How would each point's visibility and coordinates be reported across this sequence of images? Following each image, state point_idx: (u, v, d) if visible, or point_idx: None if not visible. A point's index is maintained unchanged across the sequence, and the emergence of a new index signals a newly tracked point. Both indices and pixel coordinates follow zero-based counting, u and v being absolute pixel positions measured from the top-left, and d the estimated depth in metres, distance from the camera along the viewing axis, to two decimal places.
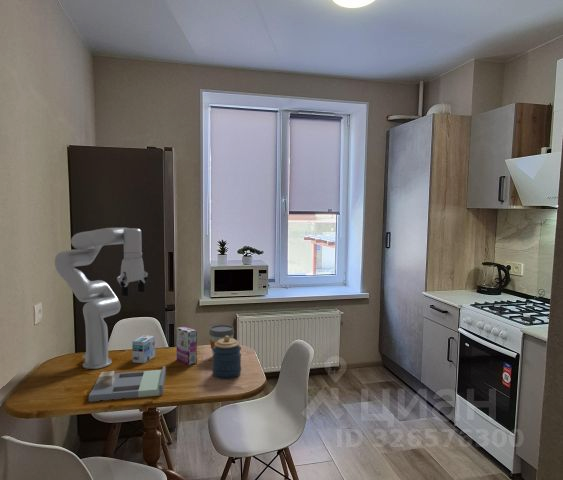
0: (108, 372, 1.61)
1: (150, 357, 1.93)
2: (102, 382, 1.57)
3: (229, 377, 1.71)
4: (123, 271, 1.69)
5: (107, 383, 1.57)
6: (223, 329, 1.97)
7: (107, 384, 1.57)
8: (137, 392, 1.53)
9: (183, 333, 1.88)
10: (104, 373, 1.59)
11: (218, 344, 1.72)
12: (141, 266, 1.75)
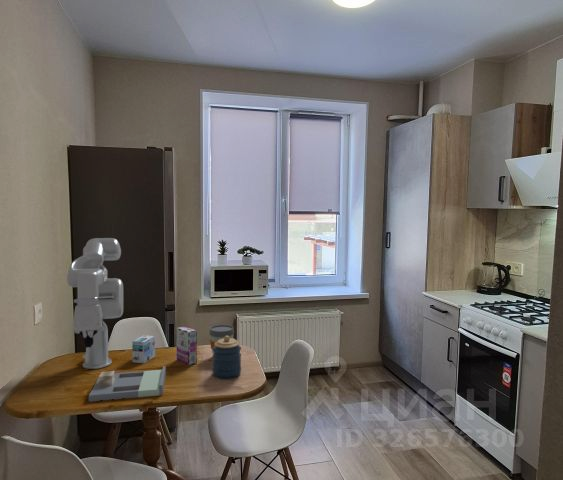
0: (108, 372, 1.61)
1: (150, 357, 1.93)
2: (102, 382, 1.57)
3: (229, 377, 1.71)
4: (101, 317, 1.57)
5: (107, 383, 1.57)
6: (223, 329, 1.97)
7: (107, 384, 1.57)
8: (137, 392, 1.53)
9: (183, 333, 1.88)
10: (104, 373, 1.59)
11: (218, 344, 1.72)
12: None
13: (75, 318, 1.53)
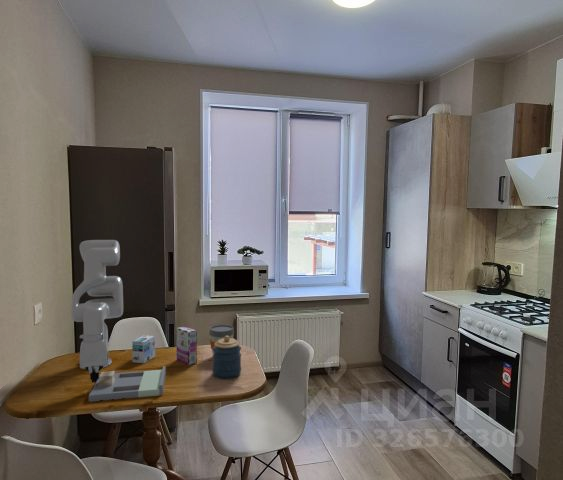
0: (108, 372, 1.61)
1: (150, 357, 1.93)
2: (102, 382, 1.57)
3: (229, 377, 1.71)
4: (107, 352, 1.58)
5: (107, 383, 1.57)
6: (223, 329, 1.97)
7: (107, 384, 1.57)
8: (137, 392, 1.53)
9: (183, 333, 1.88)
10: (104, 373, 1.59)
11: (218, 344, 1.72)
12: None
13: (81, 354, 1.54)
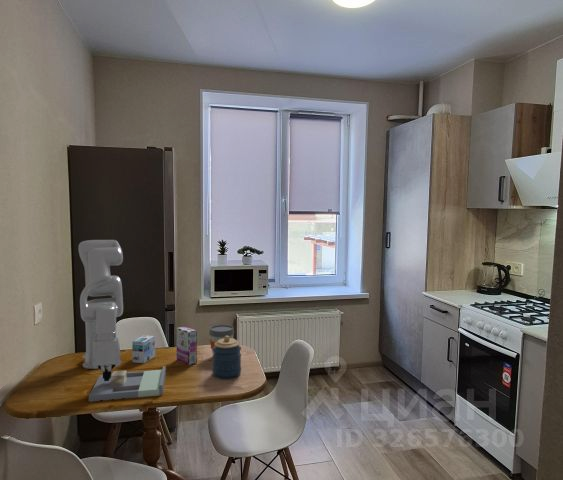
0: (120, 371, 1.61)
1: (150, 357, 1.93)
2: (114, 382, 1.57)
3: (229, 377, 1.71)
4: (119, 351, 1.59)
5: (119, 382, 1.58)
6: (223, 329, 1.97)
7: (119, 383, 1.58)
8: (137, 392, 1.53)
9: (183, 333, 1.88)
10: (116, 373, 1.60)
11: (218, 344, 1.72)
12: None
13: (94, 353, 1.55)
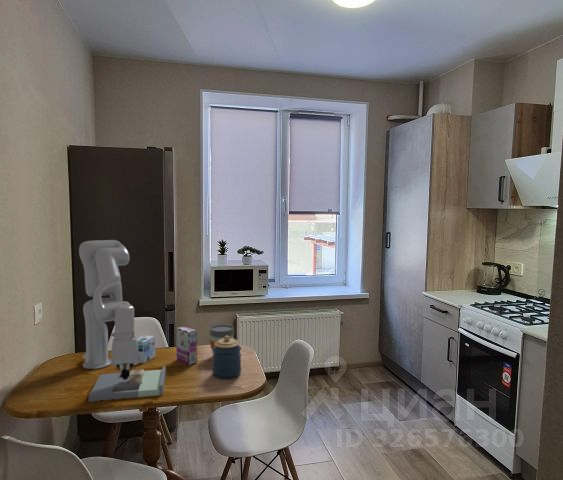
0: (137, 370, 1.63)
1: (150, 357, 1.93)
2: (132, 381, 1.59)
3: (229, 377, 1.71)
4: (137, 350, 1.61)
5: (137, 381, 1.59)
6: (223, 329, 1.97)
7: (137, 382, 1.59)
8: (137, 392, 1.53)
9: (183, 333, 1.88)
10: (134, 371, 1.61)
11: (218, 344, 1.72)
12: None
13: (113, 352, 1.57)
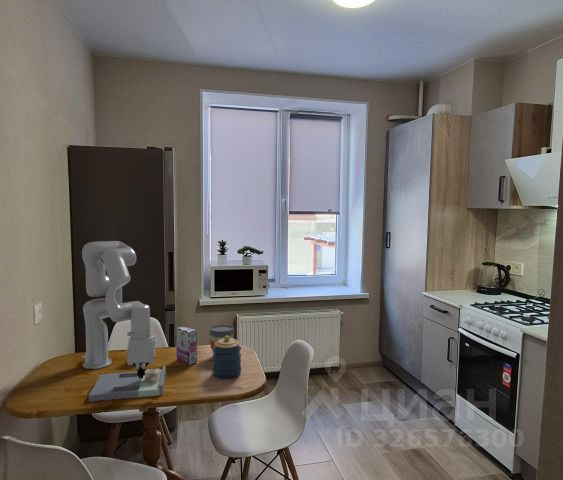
0: (153, 369, 1.64)
1: None
2: (148, 380, 1.60)
3: (229, 377, 1.71)
4: (153, 349, 1.62)
5: (152, 380, 1.60)
6: (223, 329, 1.97)
7: (152, 381, 1.60)
8: (137, 392, 1.53)
9: (183, 333, 1.88)
10: (150, 370, 1.63)
11: (218, 344, 1.72)
12: None
13: (129, 351, 1.58)
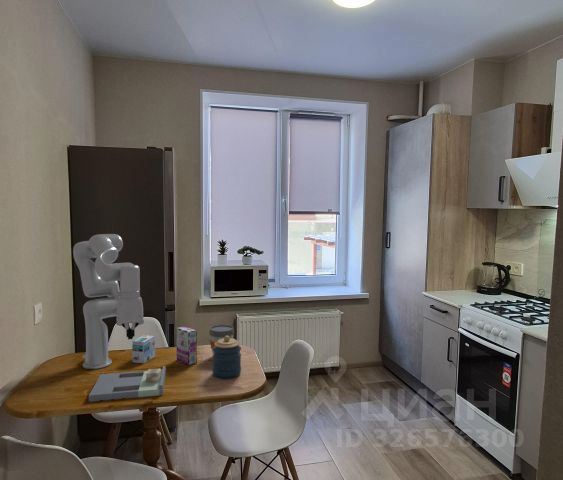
0: (154, 369, 1.64)
1: (150, 357, 1.93)
2: (149, 379, 1.60)
3: (229, 377, 1.71)
4: (142, 310, 1.61)
5: (154, 380, 1.60)
6: (223, 329, 1.97)
7: (154, 381, 1.60)
8: (137, 392, 1.53)
9: (183, 333, 1.88)
10: (151, 370, 1.63)
11: (218, 344, 1.72)
12: None
13: (118, 311, 1.56)
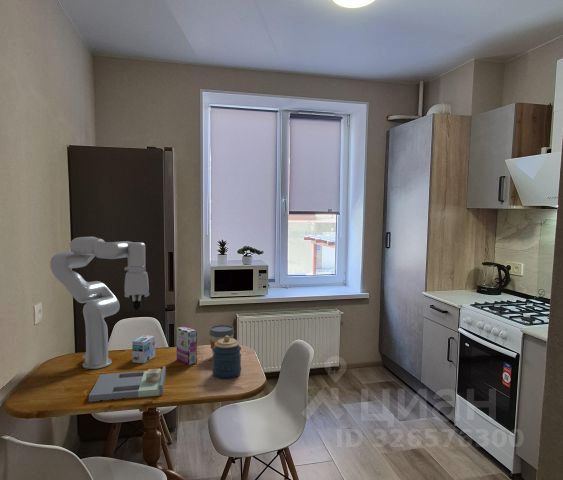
0: (154, 369, 1.64)
1: (150, 357, 1.93)
2: (149, 379, 1.60)
3: (229, 377, 1.71)
4: (148, 283, 1.76)
5: (154, 380, 1.60)
6: (223, 329, 1.97)
7: (154, 381, 1.60)
8: (137, 392, 1.53)
9: (183, 333, 1.88)
10: (151, 370, 1.63)
11: (218, 344, 1.72)
12: None
13: (126, 283, 1.72)
